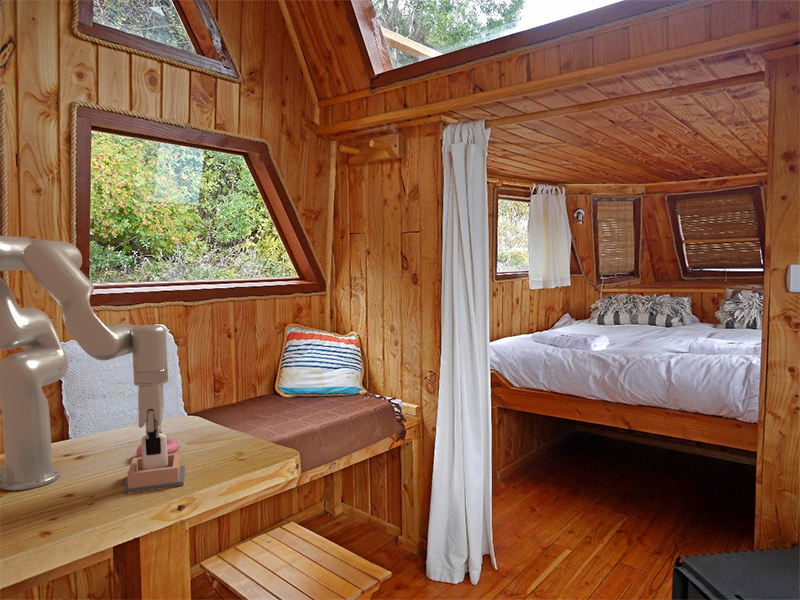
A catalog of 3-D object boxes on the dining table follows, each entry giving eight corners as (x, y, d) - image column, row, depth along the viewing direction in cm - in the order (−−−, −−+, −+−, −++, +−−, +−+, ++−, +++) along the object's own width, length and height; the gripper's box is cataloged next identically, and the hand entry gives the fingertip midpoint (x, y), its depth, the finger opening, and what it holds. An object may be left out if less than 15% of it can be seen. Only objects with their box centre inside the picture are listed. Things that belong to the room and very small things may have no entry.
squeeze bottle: (163, 471, 133) (160, 421, 132) (139, 471, 133) (137, 422, 133) (170, 464, 138) (168, 416, 137) (148, 464, 138) (145, 416, 137)
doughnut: (147, 450, 158) (147, 435, 158) (186, 449, 158) (185, 435, 158) (128, 464, 147) (127, 448, 147) (170, 464, 147) (169, 448, 147)
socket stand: (122, 493, 129) (122, 474, 128) (128, 476, 139) (128, 458, 139) (183, 485, 133) (182, 467, 133) (184, 469, 143) (184, 452, 143)
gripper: (137, 371, 140) (141, 442, 142) (129, 385, 125) (133, 465, 126) (169, 369, 143) (172, 439, 144) (165, 382, 127) (169, 461, 129)
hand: (154, 450), depth 135 cm, fingers closed on squeeze bottle, 3 cm apart
